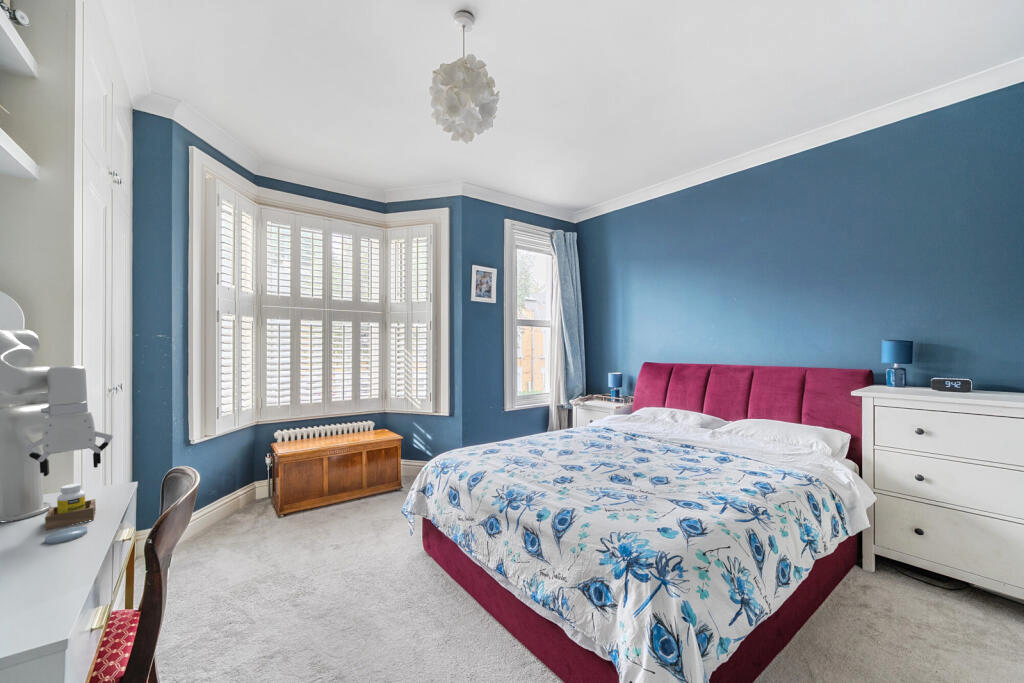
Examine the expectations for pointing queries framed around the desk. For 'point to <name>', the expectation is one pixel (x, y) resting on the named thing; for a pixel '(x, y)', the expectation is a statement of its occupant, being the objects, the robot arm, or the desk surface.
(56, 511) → the walnut holder
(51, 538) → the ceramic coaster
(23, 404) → the robot arm
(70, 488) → the supplement bottle
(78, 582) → the desk surface
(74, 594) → the desk surface
